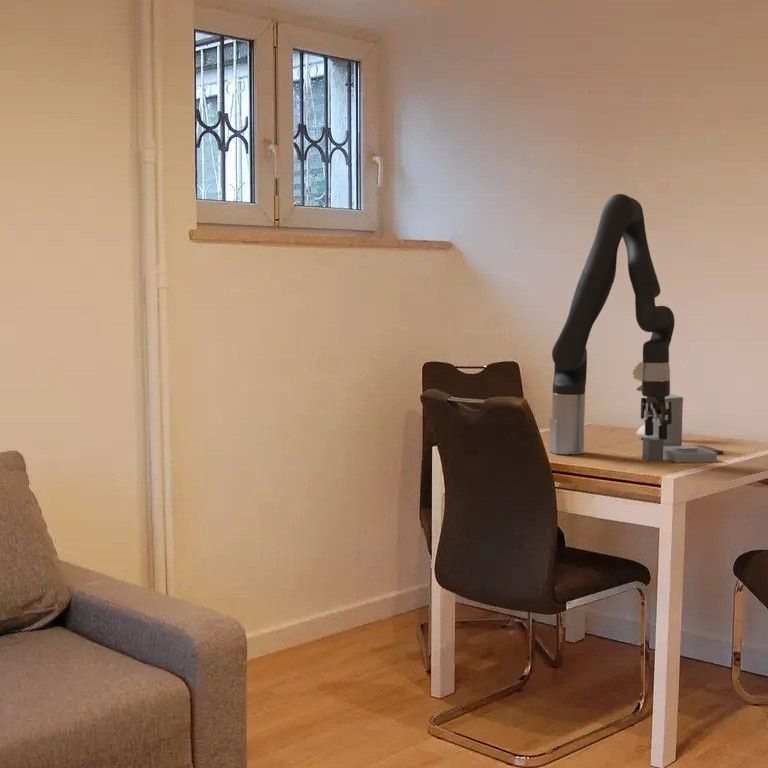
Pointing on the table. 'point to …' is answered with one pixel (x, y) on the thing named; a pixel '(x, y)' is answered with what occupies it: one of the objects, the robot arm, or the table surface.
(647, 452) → the block
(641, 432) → the flower in vase
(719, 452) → the phone
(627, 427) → the table surface
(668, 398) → the skincare box
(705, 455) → the outlet plate
